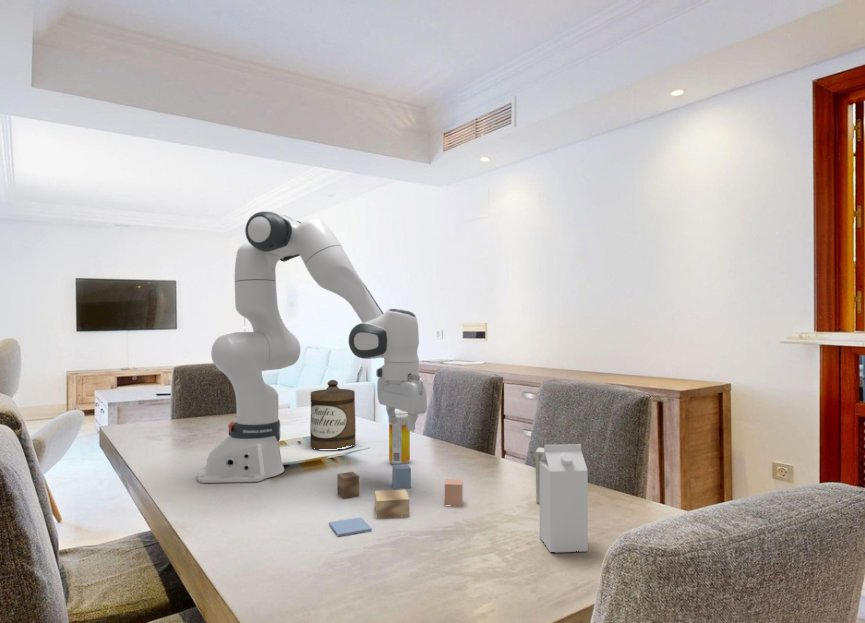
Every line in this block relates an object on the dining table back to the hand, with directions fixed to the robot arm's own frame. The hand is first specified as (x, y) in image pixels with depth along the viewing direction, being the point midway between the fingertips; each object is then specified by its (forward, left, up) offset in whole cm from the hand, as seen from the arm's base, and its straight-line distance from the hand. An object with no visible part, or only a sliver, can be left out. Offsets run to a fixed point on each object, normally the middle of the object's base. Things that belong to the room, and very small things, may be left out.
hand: (401, 426), depth 143 cm
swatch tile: (-16, -25, -15) cm, 33 cm away
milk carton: (+22, -44, -15) cm, 52 cm away
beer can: (+4, +22, -15) cm, 27 cm away
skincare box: (+31, -21, -15) cm, 40 cm away
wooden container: (-13, +49, -15) cm, 53 cm away
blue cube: (0, 0, -15) cm, 15 cm away
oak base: (-6, -18, -15) cm, 24 cm away
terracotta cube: (+9, -16, -15) cm, 24 cm away
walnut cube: (-14, -4, -15) cm, 21 cm away
